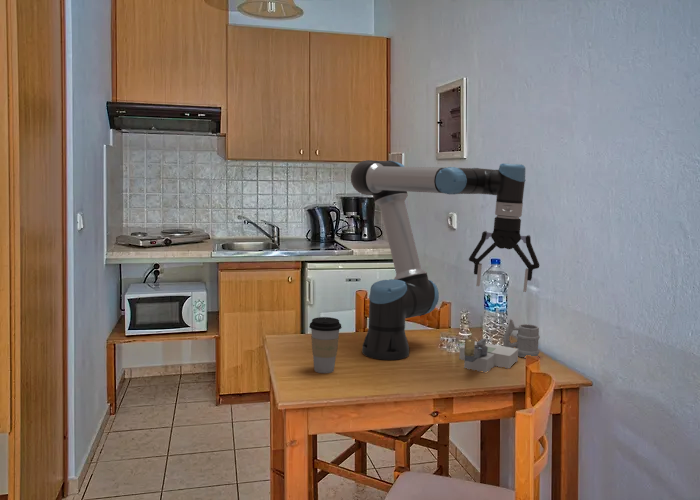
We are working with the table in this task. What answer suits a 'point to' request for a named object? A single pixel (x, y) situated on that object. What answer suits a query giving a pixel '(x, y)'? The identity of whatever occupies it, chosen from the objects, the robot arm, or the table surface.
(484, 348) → the latch arm
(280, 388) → the table surface
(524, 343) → the mug
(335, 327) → the coffee cup
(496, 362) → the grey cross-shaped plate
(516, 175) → the robot arm
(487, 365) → the block
